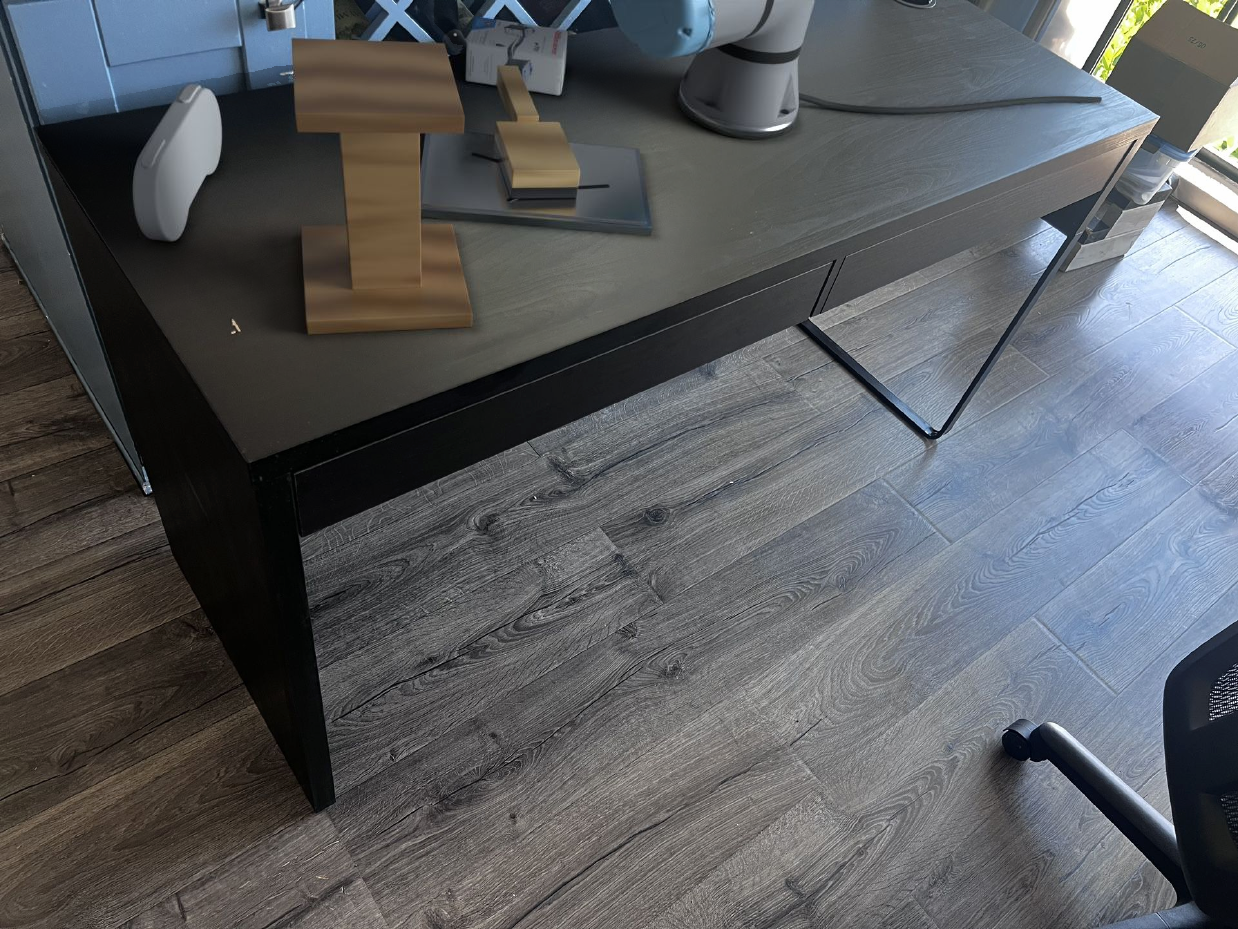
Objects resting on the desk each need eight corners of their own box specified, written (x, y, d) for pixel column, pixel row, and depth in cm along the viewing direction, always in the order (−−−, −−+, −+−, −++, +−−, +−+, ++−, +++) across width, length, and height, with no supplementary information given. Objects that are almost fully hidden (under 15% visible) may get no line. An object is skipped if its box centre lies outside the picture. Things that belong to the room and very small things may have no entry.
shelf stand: (472, 327, 84) (479, 122, 70) (307, 334, 80) (280, 119, 66) (451, 236, 93) (454, 37, 78) (302, 239, 89) (277, 31, 75)
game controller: (204, 146, 97) (188, 67, 91) (227, 149, 97) (213, 70, 91) (143, 256, 84) (120, 173, 78) (169, 259, 84) (149, 176, 78)
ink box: (474, 14, 117) (568, 27, 118) (474, 54, 120) (565, 66, 121) (465, 43, 111) (564, 56, 112) (465, 85, 115) (561, 97, 115)
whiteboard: (637, 156, 108) (639, 146, 108) (651, 236, 98) (653, 225, 97) (426, 136, 105) (426, 125, 104) (415, 216, 94) (415, 205, 93)
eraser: (577, 197, 98) (581, 164, 96) (511, 198, 96) (513, 164, 94) (534, 97, 112) (537, 66, 110) (476, 96, 110) (477, 64, 108)
